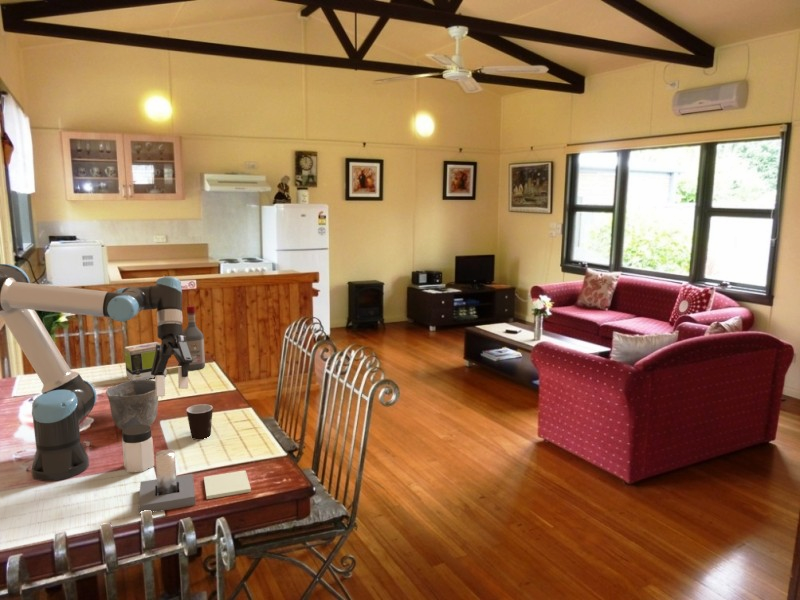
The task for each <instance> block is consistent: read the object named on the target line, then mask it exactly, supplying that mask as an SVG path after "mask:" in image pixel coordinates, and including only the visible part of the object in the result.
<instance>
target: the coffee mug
mask: <svg viewBox="0 0 800 600" xmlns="http://www.w3.org/2000/svg"><path fill="white" fill-rule="evenodd" d="M213 408H214V407H213V405H212V404H211V405H210V404H205V403H204V404H194V405H191V406H189V407H187V408H186V415H187V421H188V425H189V431H190V436H191V437H192V438H195V439H202V440H205V439H204V438H206V439H208V438H207V437H209V436H210V435H211V436H212V423H213V422H212V421H213V411H214V409H213ZM211 436H210V437H211ZM210 437H209V438H210ZM192 438H191V439H192ZM195 439H194V440H195Z"/></svg>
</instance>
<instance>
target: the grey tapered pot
mask: <svg viewBox="0 0 800 600" xmlns="http://www.w3.org/2000/svg"><path fill="white" fill-rule="evenodd" d="M105 393H106V396H107V399H108V401H109V402H108V403H109V406H110V407H109V409H110V412H111V417H112V420H113V423H114V425H116V427H117V428H118V429H119V430H122V431H123V430H124V429H126V428H128V427H131V426H136V425H147V426H150V427H151V426H152V424H153V423H154V422H155V420H156V419H157V415H158V406H159V405H158V404H159V396H156V388H155V380H154V379H153V380H152V379H147V380H132V381H131V380H128V381H123V382H122V383H117V384H116V385H114V386H113V385H112V386H110V387H109V388H107V389H106V392H105Z"/></svg>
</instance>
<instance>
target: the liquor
mask: <svg viewBox="0 0 800 600" xmlns="http://www.w3.org/2000/svg"><path fill="white" fill-rule="evenodd" d="M186 313H187V326H186V328H185V329H183V336H186V343H187V346H188V349H189V352H190V355H191V358H192V363H189V366H188V371H197V370H202V369H204V368H205V366H206V360H205V357H206V356H205V341H204V339H205V338H204V337H205V336H204V334H203V332H202V331H201V330H200V329H199V328H198V327H197V324H196V306H195V305H187V306H186ZM186 359H188V358H186Z"/></svg>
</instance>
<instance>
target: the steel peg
mask: <svg viewBox="0 0 800 600" xmlns="http://www.w3.org/2000/svg"><path fill="white" fill-rule="evenodd" d="M154 462H155V472H156V474H155V475H156V479H157V490H158V494H157V496H159V495H165V494H171V493H178V490H177V481H176V476H177V472H176V471H177V470H176V469H177V467H176V453H175V450H173V449H163V450H159V451H157V452H156V453H154Z"/></svg>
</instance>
